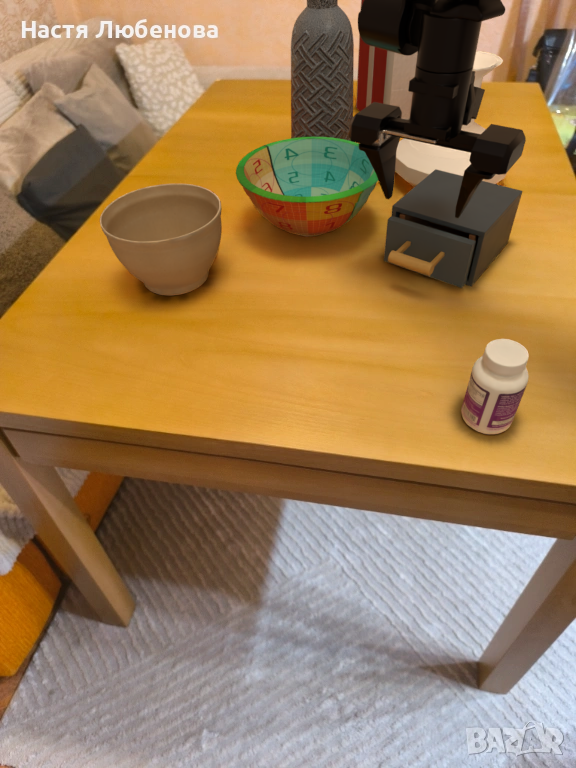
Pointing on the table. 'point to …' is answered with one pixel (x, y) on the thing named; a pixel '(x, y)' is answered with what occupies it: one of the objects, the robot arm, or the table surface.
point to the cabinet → (465, 213)
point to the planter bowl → (165, 235)
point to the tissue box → (384, 78)
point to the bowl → (307, 183)
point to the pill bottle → (496, 387)
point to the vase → (322, 72)
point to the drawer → (430, 249)
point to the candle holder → (425, 158)
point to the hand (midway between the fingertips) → (422, 206)
